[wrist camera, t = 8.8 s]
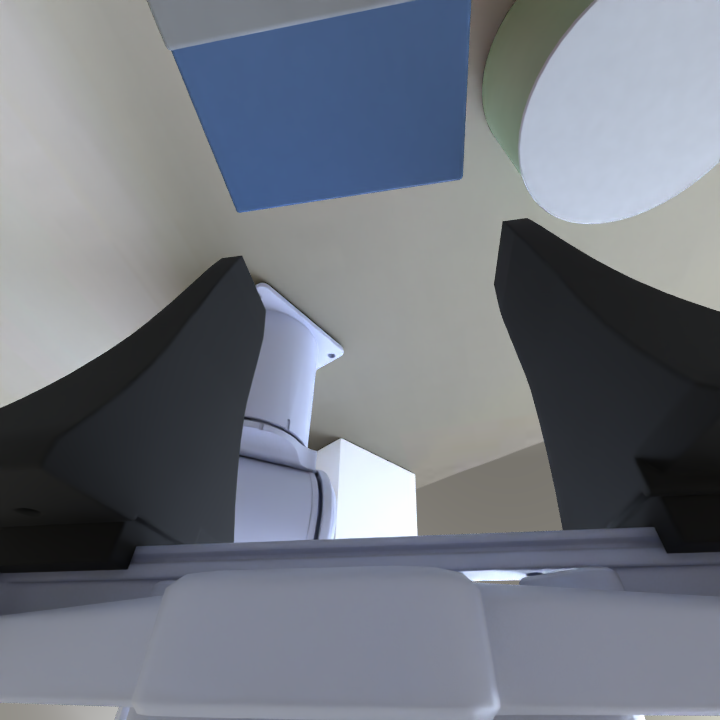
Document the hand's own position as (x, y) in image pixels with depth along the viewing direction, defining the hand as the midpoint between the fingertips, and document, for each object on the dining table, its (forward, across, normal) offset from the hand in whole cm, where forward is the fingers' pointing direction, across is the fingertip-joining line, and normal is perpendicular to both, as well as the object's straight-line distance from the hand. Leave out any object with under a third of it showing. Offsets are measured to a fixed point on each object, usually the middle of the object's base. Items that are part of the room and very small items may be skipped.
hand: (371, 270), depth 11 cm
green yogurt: (+10, -8, -1) cm, 14 cm away
